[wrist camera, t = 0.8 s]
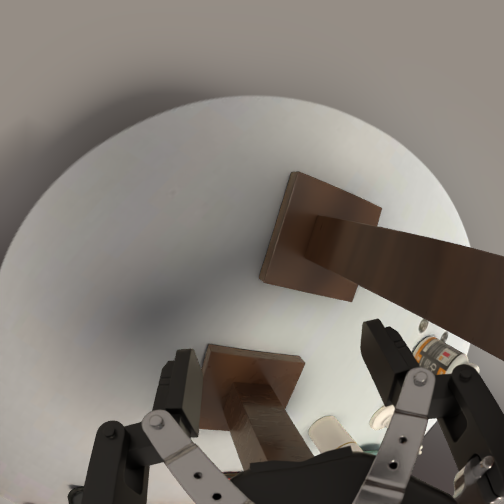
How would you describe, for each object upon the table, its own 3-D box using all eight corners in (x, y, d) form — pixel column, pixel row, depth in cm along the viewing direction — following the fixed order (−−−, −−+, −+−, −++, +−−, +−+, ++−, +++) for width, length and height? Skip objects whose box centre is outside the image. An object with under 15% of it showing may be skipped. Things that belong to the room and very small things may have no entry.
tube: (321, 413, 33) (385, 493, 19) (342, 418, 35) (404, 489, 21) (302, 436, 33) (357, 517, 19) (324, 439, 35) (378, 512, 21)
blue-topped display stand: (178, 417, 28) (221, 605, 7) (198, 341, 27) (278, 573, 6) (277, 424, 32) (366, 567, 11) (307, 356, 30) (446, 502, 10)
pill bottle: (405, 354, 36) (454, 388, 26) (432, 327, 36) (481, 354, 27) (412, 375, 37) (456, 407, 28) (437, 350, 38) (481, 377, 29)
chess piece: (397, 411, 38) (435, 445, 29) (374, 431, 38) (410, 468, 29) (390, 398, 37) (431, 435, 27) (365, 420, 36) (404, 461, 27)
